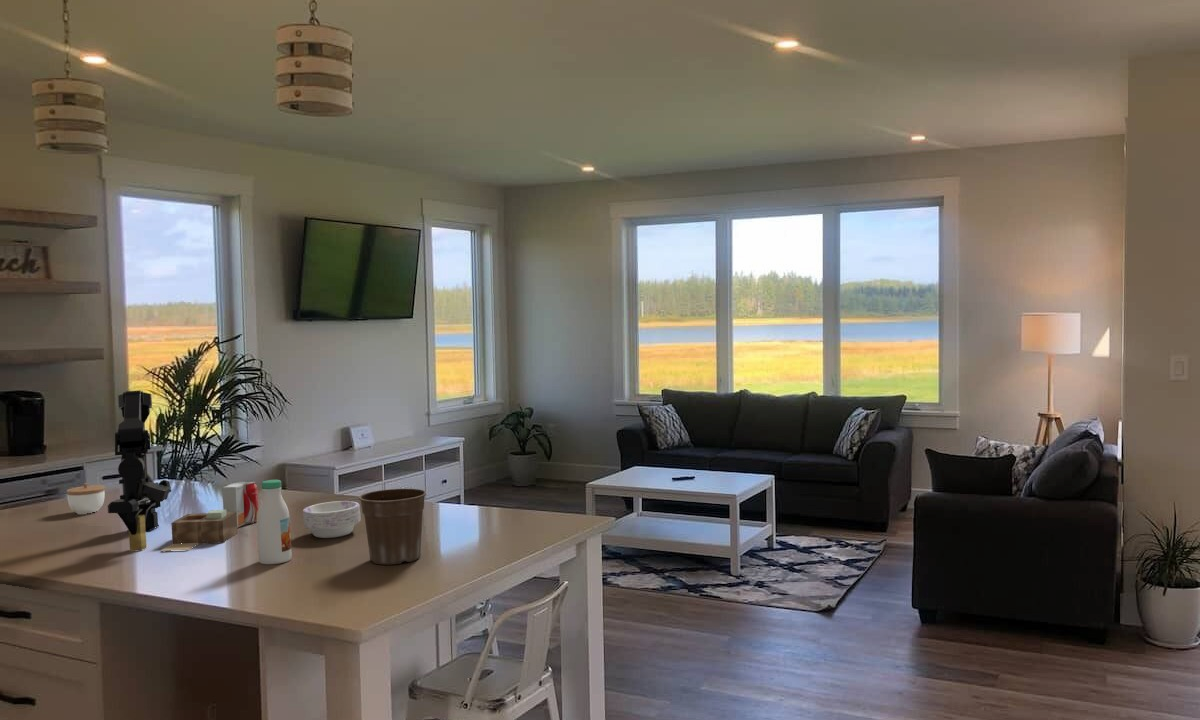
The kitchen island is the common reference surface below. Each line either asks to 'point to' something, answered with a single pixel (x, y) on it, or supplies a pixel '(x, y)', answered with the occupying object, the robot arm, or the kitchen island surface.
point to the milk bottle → (273, 525)
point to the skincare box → (234, 501)
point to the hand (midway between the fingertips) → (137, 532)
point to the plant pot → (393, 524)
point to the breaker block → (203, 528)
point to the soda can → (250, 501)
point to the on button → (216, 514)
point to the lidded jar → (86, 498)
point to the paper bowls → (331, 518)
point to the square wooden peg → (138, 535)
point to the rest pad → (180, 546)
